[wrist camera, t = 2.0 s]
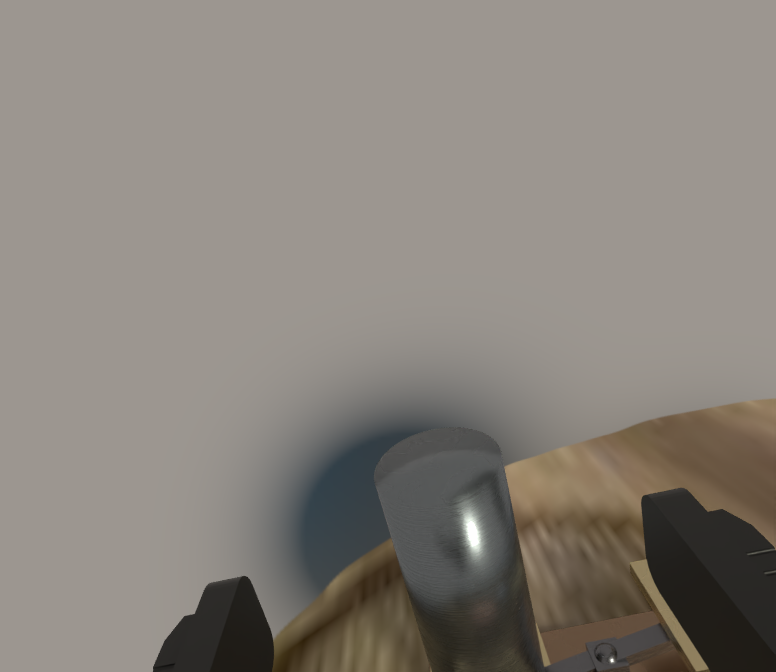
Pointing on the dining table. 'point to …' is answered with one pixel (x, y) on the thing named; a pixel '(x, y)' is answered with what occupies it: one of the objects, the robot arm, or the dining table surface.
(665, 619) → the balance
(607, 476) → the dining table surface
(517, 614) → the tea canister
